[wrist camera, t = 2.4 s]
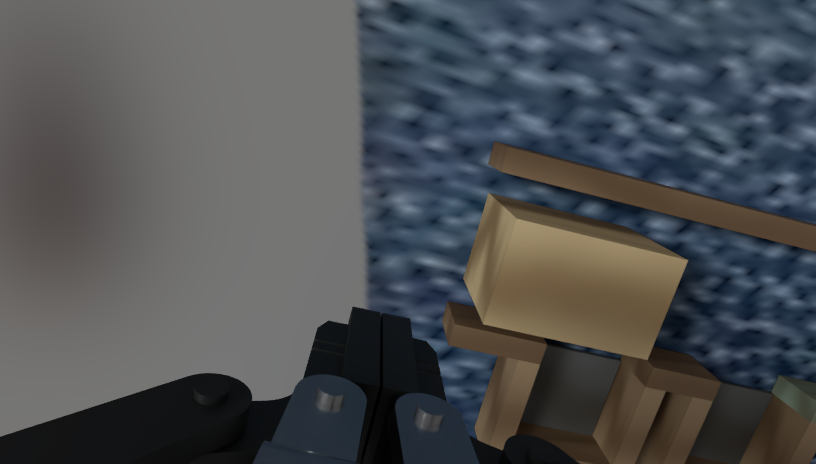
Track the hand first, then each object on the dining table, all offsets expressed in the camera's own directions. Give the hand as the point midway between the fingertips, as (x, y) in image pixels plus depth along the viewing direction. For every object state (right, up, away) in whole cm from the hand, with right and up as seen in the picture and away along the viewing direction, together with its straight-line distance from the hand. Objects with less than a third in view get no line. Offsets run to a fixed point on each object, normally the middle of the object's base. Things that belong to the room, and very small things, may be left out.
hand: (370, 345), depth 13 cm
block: (+9, +2, +15) cm, 18 cm away
